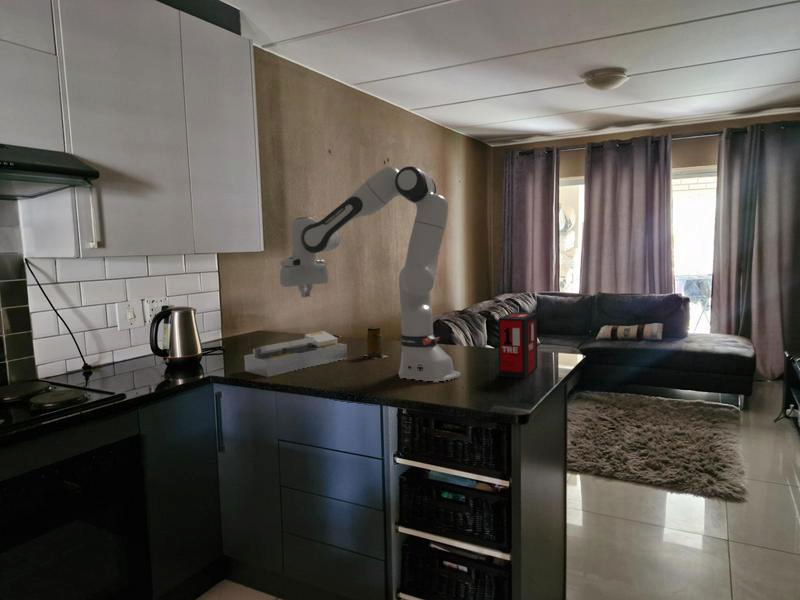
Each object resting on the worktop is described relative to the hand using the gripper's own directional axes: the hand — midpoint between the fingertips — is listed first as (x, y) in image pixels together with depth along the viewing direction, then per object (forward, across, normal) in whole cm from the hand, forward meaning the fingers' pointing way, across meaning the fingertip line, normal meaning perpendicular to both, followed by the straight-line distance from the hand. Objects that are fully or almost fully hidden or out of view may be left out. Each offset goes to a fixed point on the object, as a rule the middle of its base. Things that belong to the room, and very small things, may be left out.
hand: (305, 297), depth 210 cm
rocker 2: (+18, 0, -7) cm, 20 cm away
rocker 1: (+18, +12, -7) cm, 23 cm away
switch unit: (+27, 0, -7) cm, 28 cm away
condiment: (+27, -29, +7) cm, 40 cm away
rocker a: (+18, -12, -7) cm, 23 cm away
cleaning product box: (+27, -40, +68) cm, 83 cm away
